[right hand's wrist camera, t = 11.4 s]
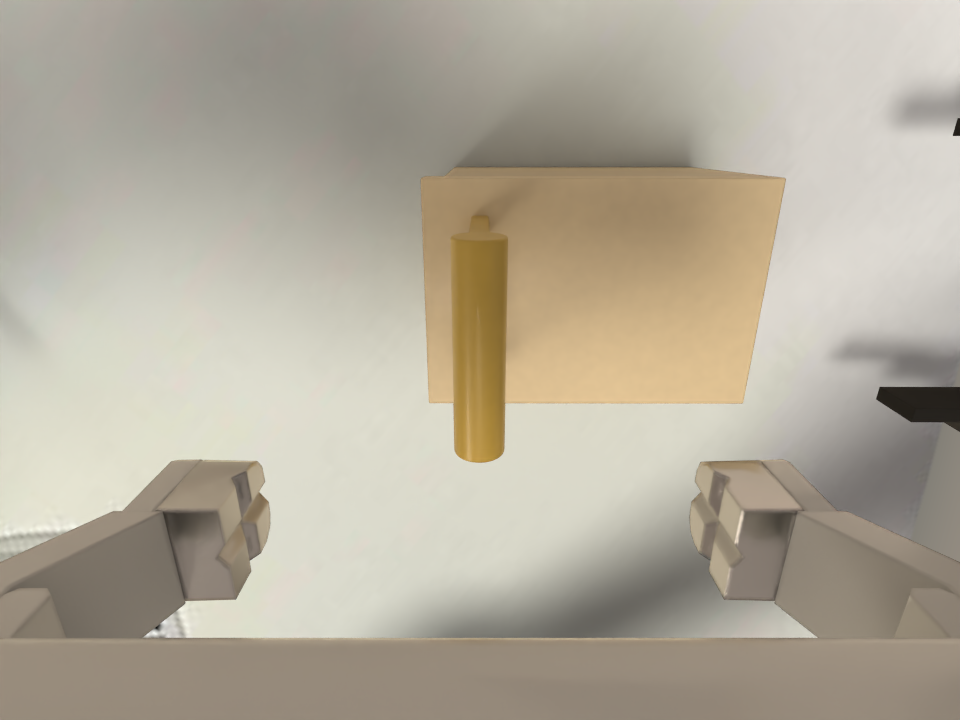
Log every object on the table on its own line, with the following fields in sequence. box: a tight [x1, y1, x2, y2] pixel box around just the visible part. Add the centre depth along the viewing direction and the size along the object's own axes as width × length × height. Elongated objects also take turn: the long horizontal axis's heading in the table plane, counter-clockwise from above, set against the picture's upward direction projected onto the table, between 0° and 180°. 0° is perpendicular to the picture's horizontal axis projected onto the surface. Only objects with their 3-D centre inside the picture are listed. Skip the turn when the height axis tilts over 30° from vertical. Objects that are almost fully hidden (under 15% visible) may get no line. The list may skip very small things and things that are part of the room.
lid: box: [421, 176, 786, 463], centre depth 21 cm, size 14×10×8 cm
